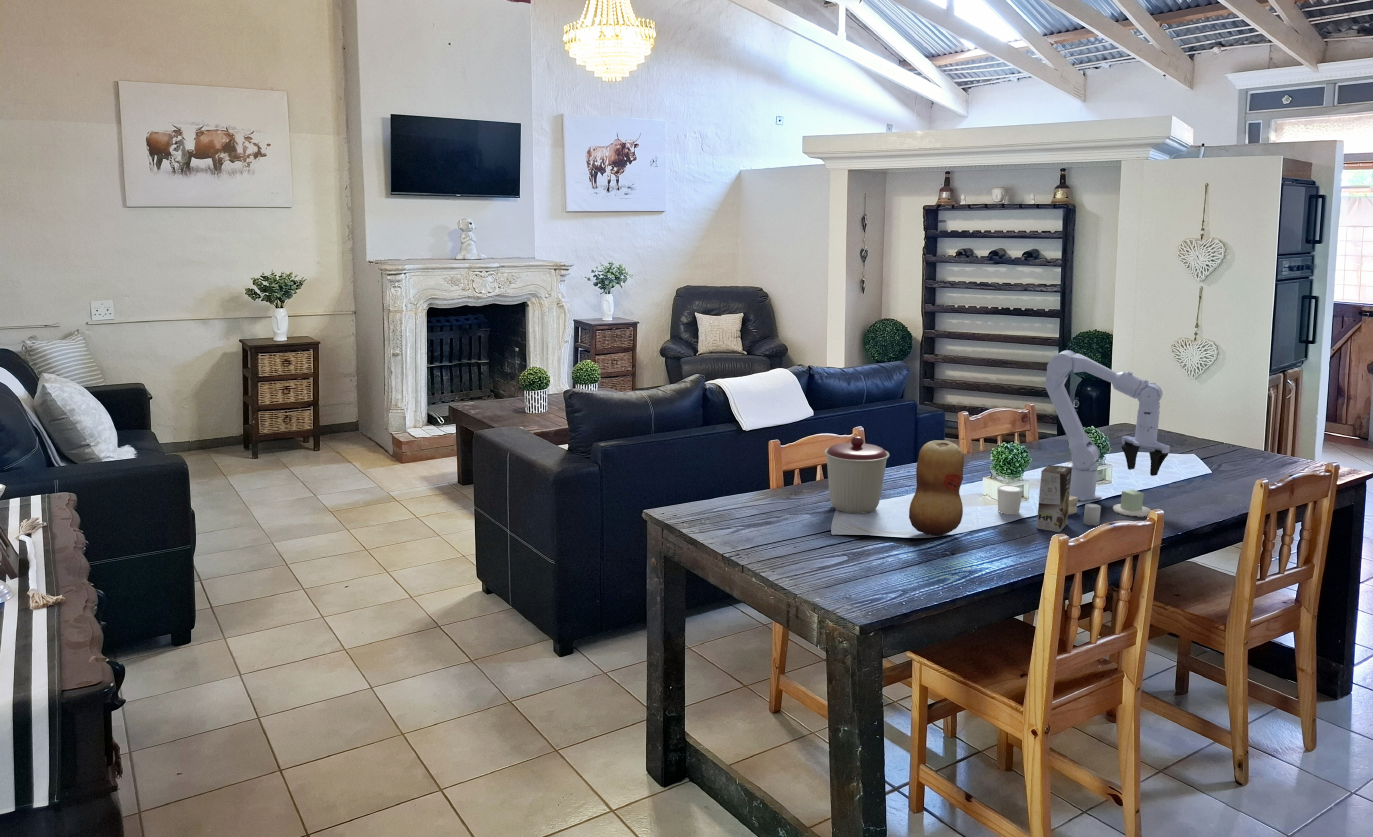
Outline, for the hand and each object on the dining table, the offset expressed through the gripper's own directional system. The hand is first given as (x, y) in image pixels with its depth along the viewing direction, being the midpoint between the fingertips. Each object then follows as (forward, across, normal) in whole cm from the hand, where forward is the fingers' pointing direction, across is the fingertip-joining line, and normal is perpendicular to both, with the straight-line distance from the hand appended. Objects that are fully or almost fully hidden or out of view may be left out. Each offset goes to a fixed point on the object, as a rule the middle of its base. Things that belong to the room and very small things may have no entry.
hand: (1142, 472), depth 293 cm
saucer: (+10, +3, -7) cm, 13 cm away
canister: (+10, -34, -76) cm, 84 cm away
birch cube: (+10, -5, -25) cm, 27 cm away
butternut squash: (+10, -6, -72) cm, 73 cm away
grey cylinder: (+10, +6, -27) cm, 29 cm away
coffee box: (+10, +3, -38) cm, 40 cm away
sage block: (+9, +3, -8) cm, 12 cm away
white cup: (+10, -12, -39) cm, 42 cm away
